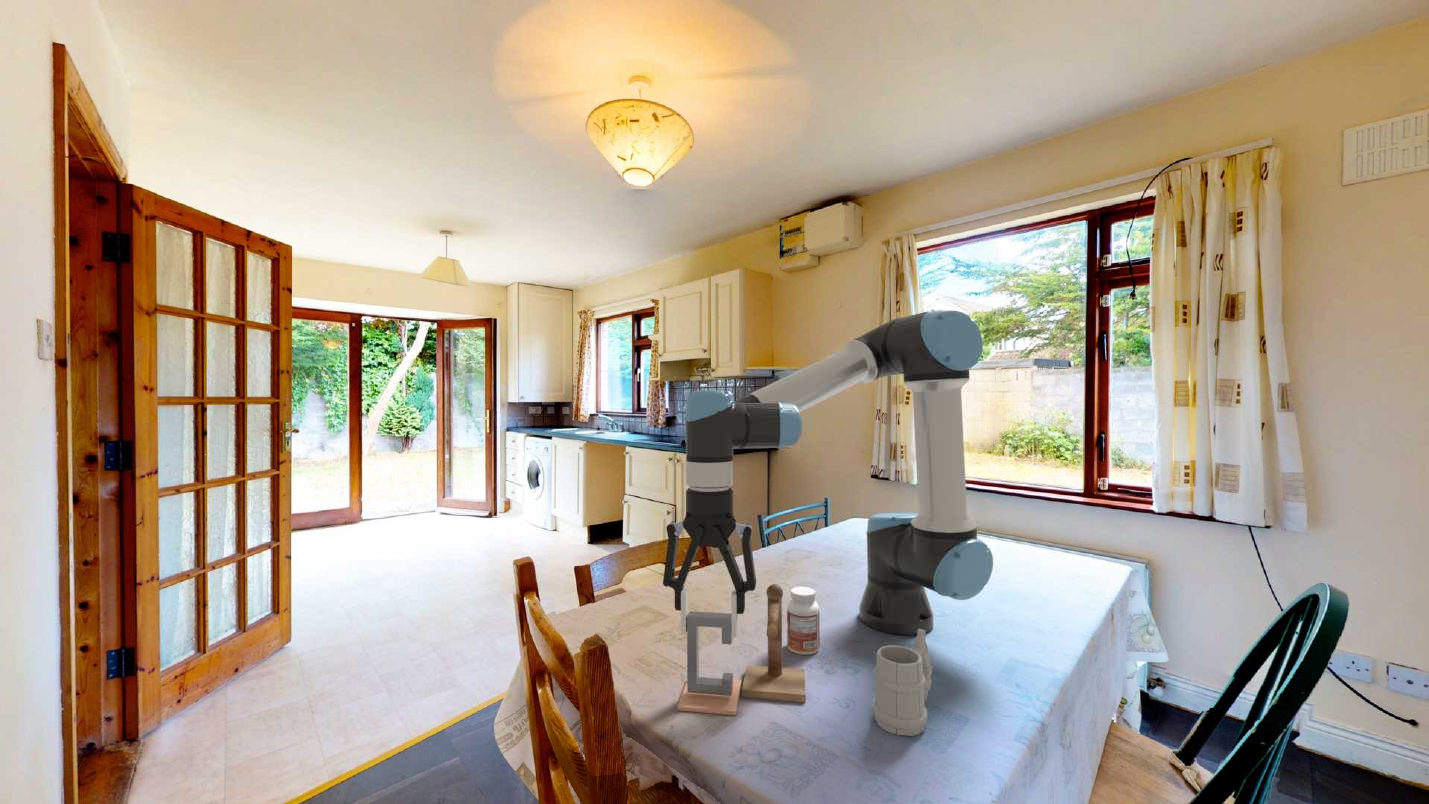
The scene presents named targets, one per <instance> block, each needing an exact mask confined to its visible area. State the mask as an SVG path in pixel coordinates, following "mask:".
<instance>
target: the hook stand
mask: <svg viewBox="0 0 1429 804" xmlns="http://www.w3.org/2000/svg"><path fill="white" fill-rule="evenodd" d="M766 596H767V624H766V625H767V626H766V627H767V628H766V637H767V666H765V665H764V666H763V665H752V664H751V665H750V664H746V667H745V672H744V678H743V682H742V687H741V698H745V699H761V700H769V701H770V700H773V701H784V702H796V703H797V702H798V703H806V700H807V698H806V695H807V694H806V672H805V671H806V670H805V668H793V667H792V668H789V667H783V604H782V603H783V596H784V591H783V588H782V586H780V585H779V584H776V583H772V584H770V585H769V586H768V587H767V589H766Z"/></svg>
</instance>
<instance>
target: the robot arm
mask: <svg viewBox="0 0 1429 804" xmlns="http://www.w3.org/2000/svg"><path fill="white" fill-rule="evenodd" d="M980 330H981V329H980V327H979V326H978V325H977V323H976V321H975V320H974V319H972V318H971V317H970V315H969V314H968V313H966V312H965V311H963V310H961V309H959V308H953V307H947V308H936V309H930V310H928V311H924V312H920V313H916V314H911V315H907V316H904V317H899V318H898V317H897V318H894V319H891V320H889V321H886V322H884V323H882V324H880V325H879V326H877V327H875V328H873V329H871V330H869V331H867V332H866V333H864V334H861V335H860V336H858V337H856V338H854V339H852V340H850V341H848V342H847V343H846V344H845V346H844V349H842V350H839V351H838V352H836V353H834V354H832V355H829V356H828V357H826V358H825V357H824V358H823V359H820V360H819V361H817V362H815V363H812V364H810V365H808V366H806V367H803V368H801V369H799V370H798V371H795V372H792V373H791V374H789V375H786V376H785V377H783V378H780V379H778V380H776V381H774V382H772V383H770V384H768V385H766V386H763V387H761V388H759V389H757V390H755V391H753V392H751V393H749V394H747V395H745V396H742V397H740V398H737V399H736V400H735V399H734V397H733V393H732V391H730V390H720V389H719V390H713V389H712V390H710V389H709V390H708V389H707V390H706V389H705V390H693V391H691V392H689V393H688V394H687V396H686V403H685V417H684V422H685V453H686V455H685V485H686V486H687V487H688V488H687V489H686V490H685V516H684V519H683V520H682V521H677V522H676V521H674V520H673V521H671V522H669V523H668V525H666V534H667V539H668V543H667V548H666V549H667V551H666V554H665V555H666V557H665V564H664V572H663V580H662V585H663V586H664V587H667V588H668V587H669V588H671V589H673V590H674V609H675V611H680V634H681V635H687V615H688V613H689V612H690V586H685V584H686V581H687V578H688V575H689V572H691V568H692V565H693V563H694V561H695V557H696V556H697V554H698V553H697V552H698V549H699V548H706V547H711V548H713V549H715V548H716V549H718V550H719V552H720V554H721V555H722V558H723V561H724V563H725V566H726V568H727V571H728V574H729V576H730V579H731V581H732V584H733V587H734V588H733V589H732V593H731V595H730V596H731V605H730V606H731V608H730V609H731V614H732V637H733V638H737V636H738V633H739V615H743V614H744V613H745V609H746V593H747V592H753V591H755V590H756V587H757V577H756V569H755V562H754V554H753V549H752V548H753V547H752V541H751V537H752V533H753V524H751V523H747V524H743V523H740V522H737V521H736V519H735V515H734V490H733V489H732V488H731V486H732V485H733V484H734V449H736V450H741V449H770V448H774V449H775V448H777V449H781V448H788V447H789V448H790V447H794V446H796V444H797V443H798V442H799V441H800V440H801V437H802V434H803V417H802V414H801V412H803V411H805V410H807V409H809V408H811V407H813V406H816V405H817V404H819V403H822V402H823V401H825V400H827V399H829V398H831V397H833V396H835V395H837V394H839V393H841V392H843V391H845V390H847V389H849V388H851V387H852V386H855V385H857V384H859V383H863V384H869V383H871V382H874V381H875V380H876V381H877V380H878V379H881V378H885V377H890V376H895V375H903V384H904V385H906V387H908V388H909V390H911V391H912V392H911V393H912V403H913V404H912V405H913V406H912V408H913V423H914V424H913V426H914V445H915V446H914V447H915V449H914V450H915V464H916V465H915V466H916V485H917V486H916V487H917V489H916V490H917V506H918V507H917V508H918V509H917V510H918V513H916V512H888V513H887V512H886V513H877V514H876V513H875V514H873V515H871V516H870V517H869V518H868V520H867V527H866V529H867V530H866V533H865V534H866V553H867V554H866V556H867V557H866V558H867V559H866V560H867V561H866V562H867V583H866V584H865V587H864V588H865V589H864V592H863V595H862V598H861V599H860V600H861V601H860V604H859V609H858V610H859V616H858V617H859V619H860V621H861V622H862V623H863V624H864V625H866V626H868V627H870V628H872V629H874V630H877V631H880V632H883V633H887V634H892V635H898V636H899V635H901V636H917V635H918V633H917V631H918V629H922V630H925V631H926V633H928V632H930V631H931V630H932V629H933V628H934V613H933V610H932V607H931V604H930V602H929V598H928V595H927V593H926V592H927V591H926V589H927V590H930V591H933V592H935V593H936V594H938V595H940V596H943V597H948V598H951V599H953V600H957V601H966V600H970V599H972V598H974V597H976V596H977V595H979V594H980V593H981V592H982V591H983V589H984V588H985V586H986V585H988V583H989V581H990V578H991V577H992V573H993V568H994V556H993V553H992V551H991V549H990V547H989V546H988V545H987V544H986V543H985V542H983V540H981V539H978V530H977V529H978V528H977V527H978V525H977V522H975V521H974V520H973V518H971V517H970V516H969V515H968V506H967V505H968V504H967V488H966V487H967V486H966V485H967V484H966V483H967V481H966V466H965V445H964V443H965V442H964V441H965V439H964V424H963V423H964V422H963V421H964V419H963V401H962V400H963V399H962V389H963V387H964V386H965V385H966V384H967V383H968V382H969V381H970V369H972V368H973V367H974V366H976V365H977V364H978V362H979V361H980V360H979V358H981V357H982V353H983V349H984V348H983V345H984V343H983V342H984V341H983V336H982V333H981V331H980ZM683 529H684V530H685V532H686V533H687V535H688V536H689V538H690V539H691V541H690V544H689V545H688V546H689V547H688V550H687V553H686V555H685V557H684V559H683V562H682V565H681V568H680V570H679V572H678V575H677V577H675V571H676V563H677V556H678V551H679V550H678V548H679V541H680V536H681V535H682V533H683ZM734 531H736V532H737V536H738V538H739V539H741V548H742V555H743V556H742V557H743V564H744V570H745V576H746V577H745V578H746V580H744V578H743V576H742V573H741V571H740V568H739V565H738V562H737V560H736V557H735V555H734V553H733V550H732V547H731V542H730V541H729V538H730V536H731V535H732V533H733V532H734Z"/></svg>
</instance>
